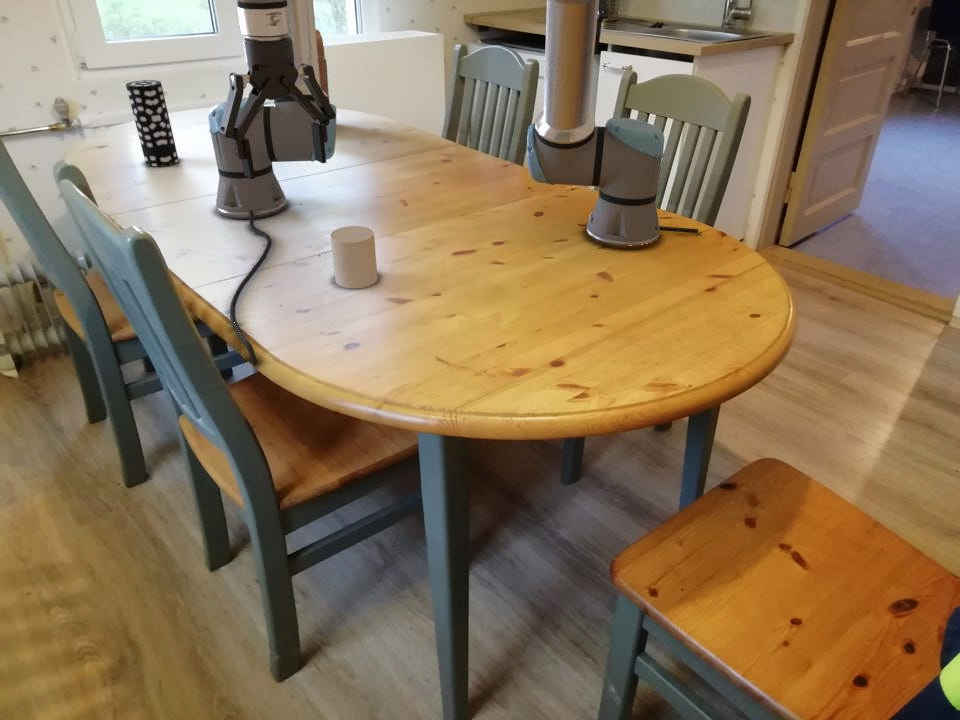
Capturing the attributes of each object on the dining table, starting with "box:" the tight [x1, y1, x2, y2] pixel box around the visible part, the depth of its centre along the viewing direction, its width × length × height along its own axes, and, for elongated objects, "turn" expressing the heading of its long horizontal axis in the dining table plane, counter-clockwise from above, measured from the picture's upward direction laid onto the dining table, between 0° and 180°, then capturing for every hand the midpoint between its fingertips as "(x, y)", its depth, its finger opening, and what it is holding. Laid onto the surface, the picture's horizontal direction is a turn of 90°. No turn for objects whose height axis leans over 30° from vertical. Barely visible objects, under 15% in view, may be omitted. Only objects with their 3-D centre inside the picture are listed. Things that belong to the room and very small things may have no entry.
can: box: [329, 225, 378, 290], centre depth 125 cm, size 8×8×9 cm
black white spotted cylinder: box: [125, 79, 179, 167], centre depth 181 cm, size 8×8×20 cm
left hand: (286, 169), depth 121 cm, fingers open, 13 cm apart
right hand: (576, 49), depth 158 cm, fingers open, 13 cm apart
